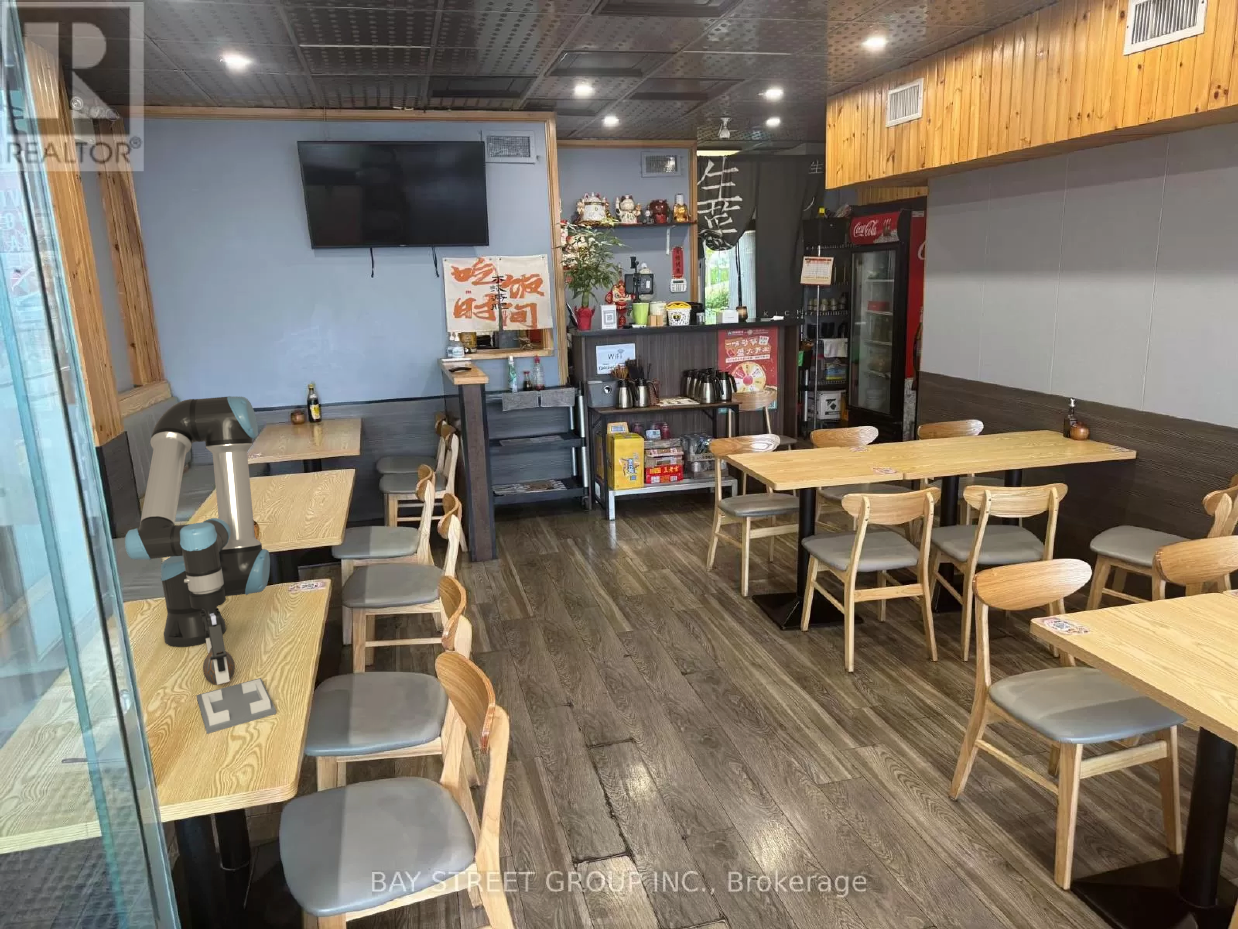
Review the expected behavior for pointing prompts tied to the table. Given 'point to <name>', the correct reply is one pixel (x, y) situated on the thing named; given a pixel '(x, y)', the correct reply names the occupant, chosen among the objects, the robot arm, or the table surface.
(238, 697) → the board
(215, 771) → the table surface
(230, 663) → the vase
